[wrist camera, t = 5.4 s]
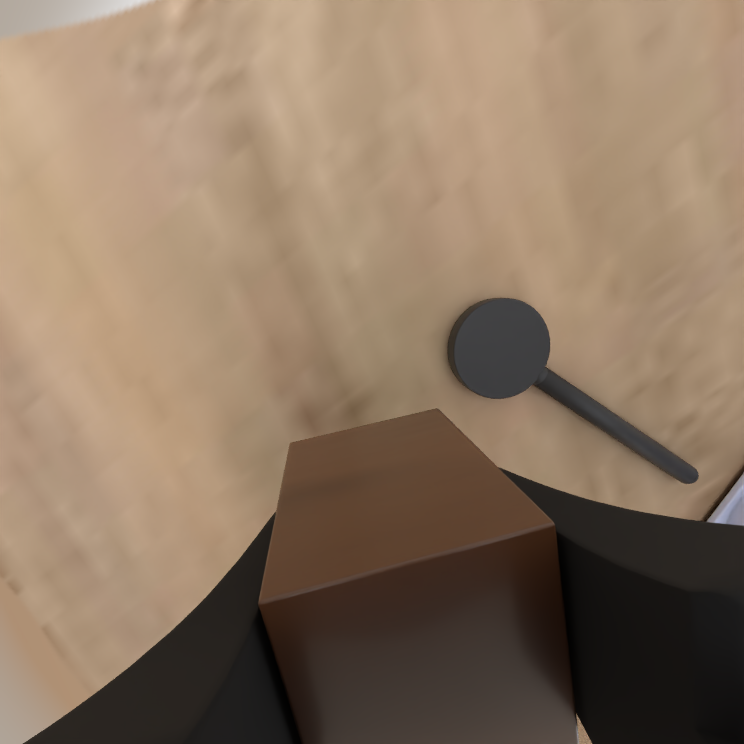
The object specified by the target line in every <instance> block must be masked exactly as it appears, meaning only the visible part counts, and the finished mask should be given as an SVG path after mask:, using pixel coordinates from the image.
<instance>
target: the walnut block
mask: <svg viewBox="0 0 744 744" xmlns="http://www.w3.org/2000/svg"><path fill="white" fill-rule="evenodd" d="M258 605H259V608H260V611H261V615H262V618H263V621H264V624H265V627H266V631H267V634H268V637H269V640H270V644H271V647H272V650H273V653H274V656H275V660H276V663H277V666H278V669H279V673H280V676H281V679H282V682H283V685H284V689H285V692H286V695H287V698H288V702H289V705H290V708H291V711H292V714H293V718H294V721H295V724H296V727H297V731H298V734H299V737H300V740H301V743H302V744H579V736H578V727H577V718H576V709H575V700H574V691H573V682H572V673H571V664H570V655H569V645H568V636H567V627H566V618H565V609H564V600H563V591H562V582H561V573H560V564H559V555H558V545H557V536H556V527H555V524H554V522H553V521H552V520H551V519H550V518H549V517H548V516H547V515H546V514H545V513H544V512H543V511H542V510H541V509H540V508H539V507H538V506H537V505H536V504H535V503H534V502H533V501H532V500H531V499H530V498H529V497H528V496H527V495H526V494H525V493H524V492H522V491H521V490H520V489H519V488H518V487H517V486H516V485H515V484H514V483H513V482H512V481H511V480H510V479H509V478H508V477H507V476H506V475H505V474H504V473H503V472H502V471H501V470H500V469H499V468H498V467H497V466H496V465H495V464H494V463H493V462H492V461H491V460H490V459H489V458H488V457H487V456H486V455H485V454H484V453H483V452H482V451H481V450H480V449H479V448H478V447H477V446H476V445H475V444H474V443H473V442H472V441H470V440H469V439H468V438H467V437H466V436H465V435H464V434H463V433H462V432H461V431H460V430H459V429H458V428H457V427H456V426H455V425H454V424H453V423H452V422H451V421H450V420H449V419H448V418H447V417H446V416H445V415H444V414H443V413H442V412H441V411H440V410H439V409H437V408H436V409H432V410H428V411H424V412H419V413H415V414H411V415H407V416H402V417H398V418H394V419H390V420H385V421H381V422H377V423H373V424H369V425H364V426H360V427H356V428H352V429H347V430H343V431H339V432H335V433H330V434H326V435H322V436H318V437H313V438H309V439H305V440H301V441H296V442H292V443H290V444H289V449H288V455H287V460H286V465H285V470H284V475H283V480H282V485H281V490H280V495H279V500H278V505H277V510H276V515H275V520H274V525H273V530H272V535H271V541H270V546H269V551H268V556H267V561H266V566H265V571H264V576H263V581H262V586H261V591H260V596H259V601H258Z"/></svg>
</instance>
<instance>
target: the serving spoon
mask: <svg viewBox="0 0 744 744" xmlns="http://www.w3.org/2000/svg"><path fill="white" fill-rule="evenodd" d="M549 352H550V337H549V332H548V329H547V326H546V324H545V322H544V320H543V318H542V317H541V315H540V314H539V313H538V312H537V311H536V310H535V309H534V308H533V307H531V306H530V305H528V304H527V303H525V302H522V301H520V300H516V299H510V298H492V299H487V300H483V301H480V302H478V303H476V304H474V305H473V306H471V307H470V308H468V309H467V310H466V311H465V312H464V313H463V314H462V315H461V316H460V317H459V319H458V320H457V321H456V323H455V325H454V327H453V329H452V331H451V334H450V337H449V342H448V359H449V363H450V366H451V369H452V371H453V373H454V374H455V376H456V377H457V379H458V380H459V381H460V382H461V383H462V384H463V385H464V386H466V387H467V388H468V389H470V390H471V391H473V392H475V393H477V394H478V395H481V396H483V397H487V398H492V399H503V398H508V397H512V396H515V395H517V394H519V393H522V392H523V391H525V390H526V389H528V388H529V387H530V386H531V385H532V384H533V385H535V386H536V387H538V388H539V389H541V390H542V391H544V392H545V393H547V394H548V395H550V396H551V397H553V398H554V399H556V400H557V401H559V402H560V403H562V404H563V405H565V406H566V407H568V408H570V409H571V410H573V411H574V412H576V413H577V414H579V415H580V416H582V417H583V418H585V419H586V420H588V421H589V422H591V423H592V424H594V425H595V426H597V427H598V428H600V429H601V430H603V431H604V432H606V433H607V434H609V435H610V436H612V437H613V438H615V439H617V440H618V441H620V442H621V443H623V444H624V445H626V446H627V447H629V448H630V449H632V450H633V451H635V452H636V453H638V454H639V455H641V456H642V457H644V458H645V459H647V460H648V461H650V462H651V463H653V464H654V465H656V466H657V467H659V468H660V469H662V470H664V471H665V472H667V473H668V474H670V475H671V476H673V477H674V478H676V479H677V480H679V481H680V482H682V483H685V484H692V483H694V482H696V481H697V479H698V476H699V475H698V472H697V470H696V469H695V468H694V467H693V466H691V465H690V464H688V463H687V462H685V461H684V460H682V459H681V458H679V457H678V456H676V455H675V454H673V453H672V452H670V451H669V450H667V449H666V448H665V447H663V446H662V445H660V444H659V443H657V442H656V441H654V440H653V439H651V438H650V437H648V436H647V435H645V434H644V433H642V432H641V431H639V430H638V429H636V428H635V427H634V426H632V425H631V424H629V423H628V422H626V421H625V420H623V419H622V418H620V417H619V416H617V415H616V414H614V413H613V412H611V411H610V410H608V409H607V408H606V407H604V406H603V405H601V404H600V403H598V402H597V401H595V400H594V399H592V398H591V397H589V396H588V395H586V394H585V393H583V392H582V391H580V390H579V389H577V388H576V387H575V386H573V385H572V384H570V383H569V382H567V381H566V380H564V379H563V378H561V377H560V376H558V375H557V374H555V373H554V372H552V371H551V370H549V369H548V368H547V367H545V366H546V364H547V360H548V357H549Z"/></svg>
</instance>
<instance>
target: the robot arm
mask: <svg viewBox="0 0 744 744" xmlns="http://www.w3.org/2000/svg"><path fill="white" fill-rule="evenodd" d="M498 468H499V467H498ZM499 469H500V470H501V471H502V472H503V473H504V474H505V475H506V476H507V477H508V478H509V479H510V480H511V481H512V482H513V483H514V484H515V485H516V486H517V487H518V488H519V489H520V490H521V491H522V492H524V493H525V494H526V495H527V496H528V497H529V498H530V499H531V500H532V501H533V502H534V503H535V504H536V505H537V506H538V507H539V508H540V509H541V510H542V511H543V512H544V513H545V514H546V515H547V516H548V517H549V518H550V519H551V520H552V521H553V522H554V524H555V527H556V536H557V545H558V555H559V564H560V573H561V582H562V591H563V600H564V609H565V618H566V627H567V636H568V645H569V655H570V664H571V673H572V682H573V691H574V700H575V709H576V713H577V715H578V717H579V719H580V721H581V723H582V725H583V726H584V728H585V730H586V732H587V734H588V736H589V738H590V740H591V742H592V744H744V473H743V474H742V476H741V477H740V478H739V479H738V481H737V482H736V483H735V485H734V486H733V487H732V489H731V490H730V491H729V493H728V494H727V495H726V497H725V498H724V499H723V500H722V502H721V503H720V504H719V506H718V507H717V508H716V510H715V511H714V512H713V514H712V515H711V516H710V518H709V519H708V520H707V522H703V521H695V520H687V519H680V518H674V517H668V516H662V515H656V514H650V513H644V512H639V511H634V510H629V509H624V508H620V507H616V506H612V505H608V504H604V503H600V502H596V501H592V500H588V499H585V498H581V497H578V496H575V495H572V494H569V493H566V492H562V491H559V490H556V489H553V488H551V487H548V486H545V485H542V484H539V483H537V482H534V481H532V480H529V479H526V478H524V477H521V476H519V475H516V474H514V473H511V472H509V471H506V470H504V469H501V468H499ZM275 515H276V512H275V513H274V515H273V516H272V517H271V518H270V520H269V521H268V522H267V523H266V525H265V526H264V528H263V529H262V530H261V532H260V533H259V534H258V536H257V537H256V538H255V539H254V541H253V542H252V543H251V545H250V546H249V547H248V549H247V550H246V551H245V552H244V554H243V555H242V556H241V558H240V559H239V560H238V561H237V562H236V564H235V565H234V566H233V567H232V568H231V569H230V571H229V572H228V573H227V574H226V575H225V576H224V577H223V579H222V580H221V581H220V582H219V583H218V584H217V586H216V587H215V588H214V589H213V590H212V591H211V592H210V593H209V595H208V596H207V597H206V598H205V599H204V600H203V601H202V602H201V603H200V604H199V605H198V606H197V607H196V608H195V609H194V610H193V611H192V612H191V613H190V614H189V615H188V616H187V617H186V618H185V619H184V620H183V621H182V622H181V623H180V624H179V625H177V626H176V627H175V628H174V629H173V630H172V631H171V632H170V633H169V634H167V635H166V636H165V637H164V638H163V639H162V640H160V641H159V642H158V643H157V644H156V645H155V646H153V647H152V648H151V649H150V650H149V651H148V652H146V653H145V654H144V655H143V656H142V657H141V658H139V659H138V660H137V661H136V662H135V663H134V664H132V665H131V666H130V667H129V668H128V669H126V670H125V671H124V672H123V673H121V674H120V675H119V676H117V677H116V678H115V679H114V680H112V681H111V682H110V683H108V684H107V685H106V686H104V687H103V688H102V689H101V690H99V691H98V692H97V693H95V694H94V695H92V696H91V697H90V698H88V699H87V700H86V701H85V702H83V703H82V704H80V705H79V706H77V707H76V708H75V709H73V710H72V711H71V712H69V713H68V714H66V715H65V716H63V717H62V718H61V719H59V720H58V721H56V722H55V723H53V724H52V725H51V726H49V727H48V728H46V729H45V730H43V731H41V732H40V733H38V734H37V735H35V736H34V737H32V738H31V739H29V740H28V741H26V742H25V743H23V744H302V743H301V740H300V737H299V734H298V731H297V727H296V724H295V721H294V718H293V714H292V711H291V708H290V705H289V702H288V698H287V695H286V692H285V689H284V685H283V682H282V679H281V676H280V673H279V669H278V666H277V663H276V660H275V656H274V653H273V650H272V647H271V644H270V640H269V637H268V634H267V631H266V627H265V624H264V621H263V618H262V615H261V611H260V608H259V605H258V601H259V596H260V591H261V586H262V581H263V576H264V571H265V566H266V561H267V556H268V551H269V546H270V541H271V535H272V530H273V525H274V520H275Z"/></svg>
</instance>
